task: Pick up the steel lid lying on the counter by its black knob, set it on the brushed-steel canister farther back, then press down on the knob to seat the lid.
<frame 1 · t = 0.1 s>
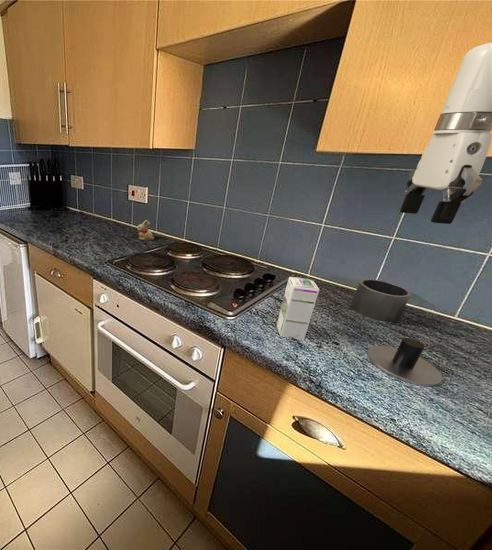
hand: (423, 217, 62), 31 cm above the table, tool pointing down, fingers open, 9 cm apart
canister lid: (402, 365, 66), point 1 cm above the table
chocolate bunny: (145, 239, 150), on the table
syrup box: (288, 333, 77), on the table
canister: (373, 313, 89), on the table
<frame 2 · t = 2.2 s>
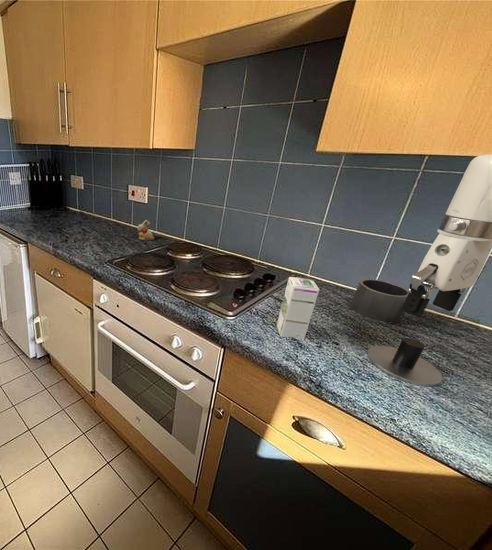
hand: (426, 310, 61), 14 cm above the table, tool pointing down, fingers open, 9 cm apart
nothing on the table moved.
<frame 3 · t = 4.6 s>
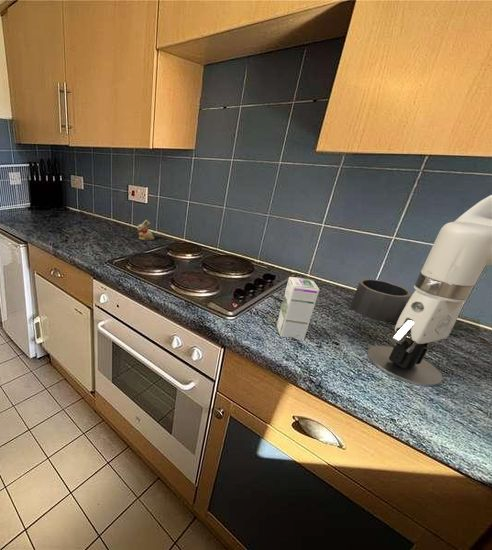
hand: (404, 361, 66), 2 cm above the table, tool pointing down, fingers closed on canister lid, 3 cm apart
canister lid: (402, 365, 66), point 1 cm above the table, touching gripper
everything else where it was.
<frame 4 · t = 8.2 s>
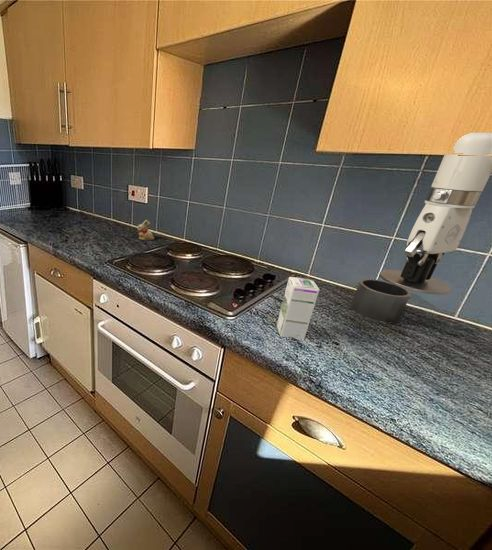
hand: (414, 277, 70), 17 cm above the table, tool pointing down, fingers closed on canister lid, 3 cm apart
canister lid: (412, 282, 70), point 16 cm above the table, touching gripper
everything else where it was.
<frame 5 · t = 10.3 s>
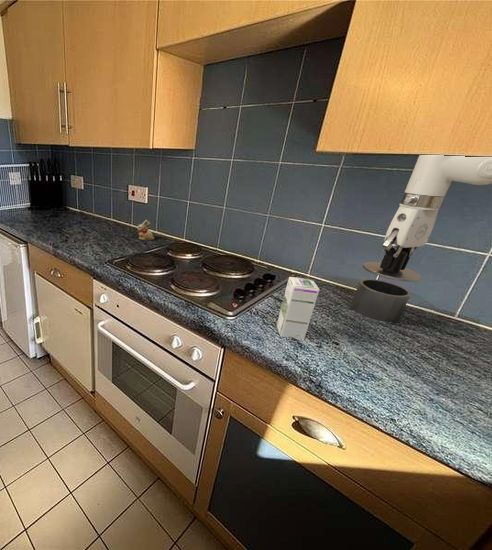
hand: (392, 268, 83), 14 cm above the table, tool pointing down, fingers closed on canister lid, 3 cm apart
canister lid: (390, 272, 83), point 13 cm above the table, touching gripper
everything else where it was.
when the fingers open (10 cm above the table, at t = 11.8 s): canister lid stays where it is, resting on canister.
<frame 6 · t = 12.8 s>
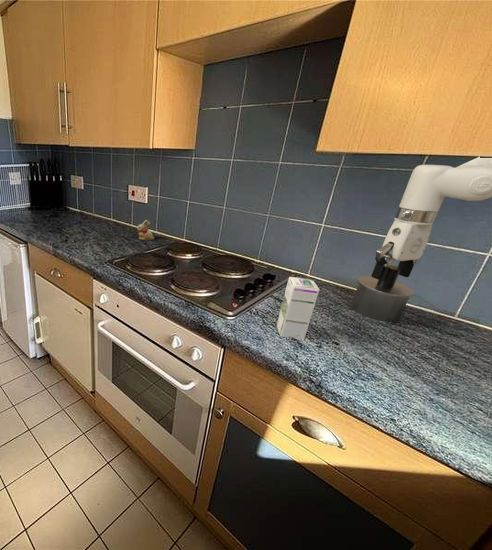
hand: (389, 277, 84), 12 cm above the table, tool pointing down, fingers open, 9 cm apart
canister lid: (384, 287, 85), point 8 cm above the table, touching canister
everything else where it was.
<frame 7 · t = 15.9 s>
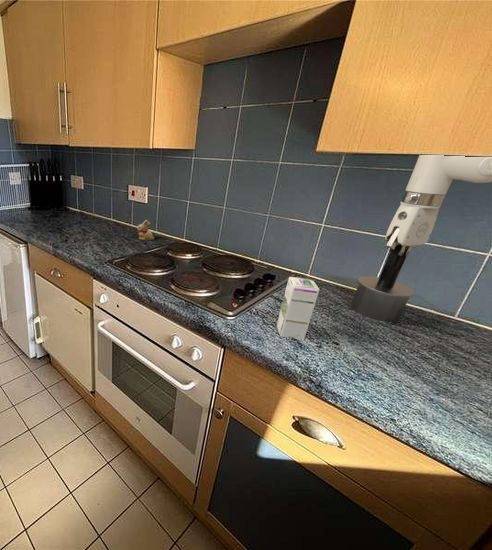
hand: (392, 267, 83), 15 cm above the table, tool pointing down, fingers closed
canister lid: (384, 287, 85), point 8 cm above the table, touching canister, gripper
everything else where it was.
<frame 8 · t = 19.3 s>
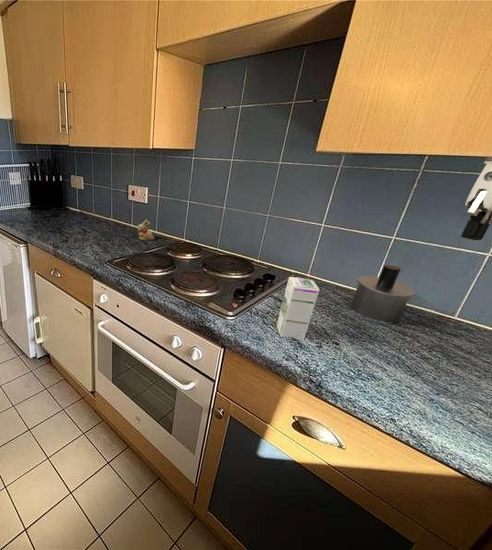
hand: (470, 238, 73), 25 cm above the table, tool pointing down, fingers closed
canister lid: (384, 287, 85), point 8 cm above the table, touching canister
everything else where it was.
at the end: canister lid 0.1 cm off-centre on the canister, point 8.5 cm above the canister's base; canister lid tilted 0°; the gripper is holding nothing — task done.
